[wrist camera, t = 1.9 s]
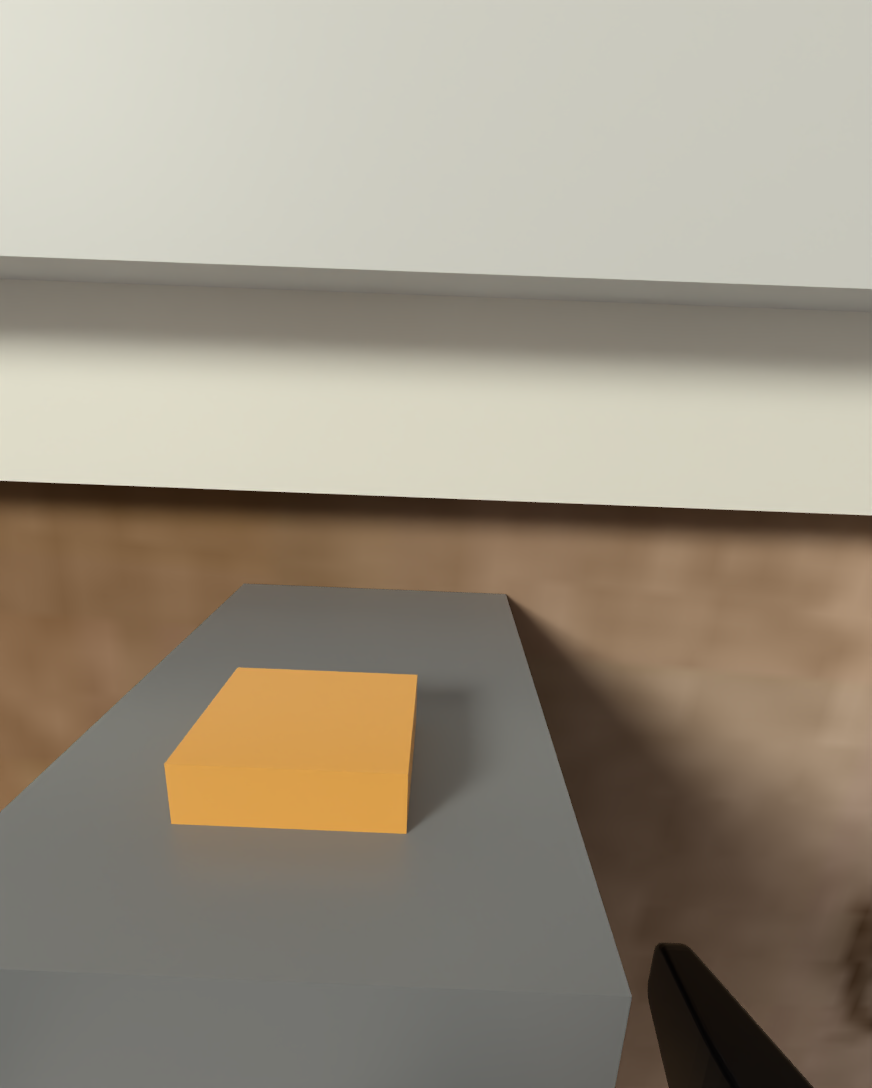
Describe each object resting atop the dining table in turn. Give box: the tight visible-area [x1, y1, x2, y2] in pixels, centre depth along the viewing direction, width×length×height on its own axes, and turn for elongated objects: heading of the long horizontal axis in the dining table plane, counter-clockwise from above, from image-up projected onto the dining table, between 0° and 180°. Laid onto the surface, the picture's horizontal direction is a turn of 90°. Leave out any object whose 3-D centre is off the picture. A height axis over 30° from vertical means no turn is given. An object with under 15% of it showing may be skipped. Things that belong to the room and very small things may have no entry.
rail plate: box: [0, 0, 872, 515], centre depth 7 cm, size 10×22×2 cm, turn 88°
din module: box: [0, 584, 632, 1088], centre depth 8 cm, size 9×5×7 cm, turn 178°
